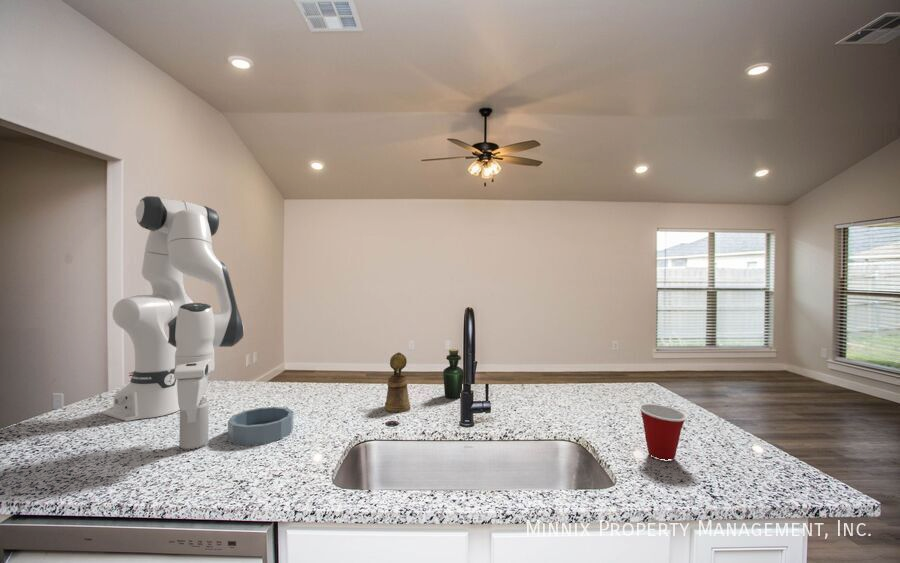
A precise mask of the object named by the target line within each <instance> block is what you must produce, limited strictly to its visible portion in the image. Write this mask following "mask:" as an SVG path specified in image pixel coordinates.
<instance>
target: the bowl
mask: <svg viewBox="0 0 900 563" xmlns="http://www.w3.org/2000/svg"><path fill="white" fill-rule="evenodd" d="M293 430H294V411H293V409H292V410H291V409H290V408H288V407H284V406H283V407H280V406H265V407H257V408H252V409H246V410H243V411H241V412H239V413H238V412H237V413H236V414H234V415H232V416H231V417H230V418H229V419H228V420H227V440H228V439H229V440H230V441H231V442H232V443H235V444H234V445H237V444H241V445H240V446H244V445H250V446H256V445H255V444H261V445H266V444H265V443H267V444H270V443H269V442H271V443H273V442H272V441H274V442H277V441H276V440H278V441H280V440H279V439H281V440H283V439H284V438H283V437H285V436H286V437H288V436H290V435H291V434H292V433H293ZM290 433H291V434H290ZM289 434H290V435H289ZM287 435H288V436H287ZM286 437H285V438H286ZM282 438H283V439H282ZM229 440H228V441H229ZM230 441H229V442H230ZM231 442H230V443H231ZM232 443H231V444H232Z"/></svg>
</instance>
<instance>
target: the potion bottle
mask: <svg viewBox="0 0 900 563" xmlns="http://www.w3.org/2000/svg"><path fill="white" fill-rule="evenodd" d="M459 351H460V350H459V349H457V348H450V349H448V353H449V355H446V358H445V359H446V360H448V363H449V364H448V365H449V366H447V367H446V368H444V369H443V371H442V376H443V388H444V398H447V399H449V398H450V399H451V400H456V399H455V398H458V399H460V393H461V390H462V391H463V389H462V384H463V385H464V379H463V371H464V369H463V368H462V367H460V366H458V365H459V362H460V360H462V356H461V355H459Z"/></svg>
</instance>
